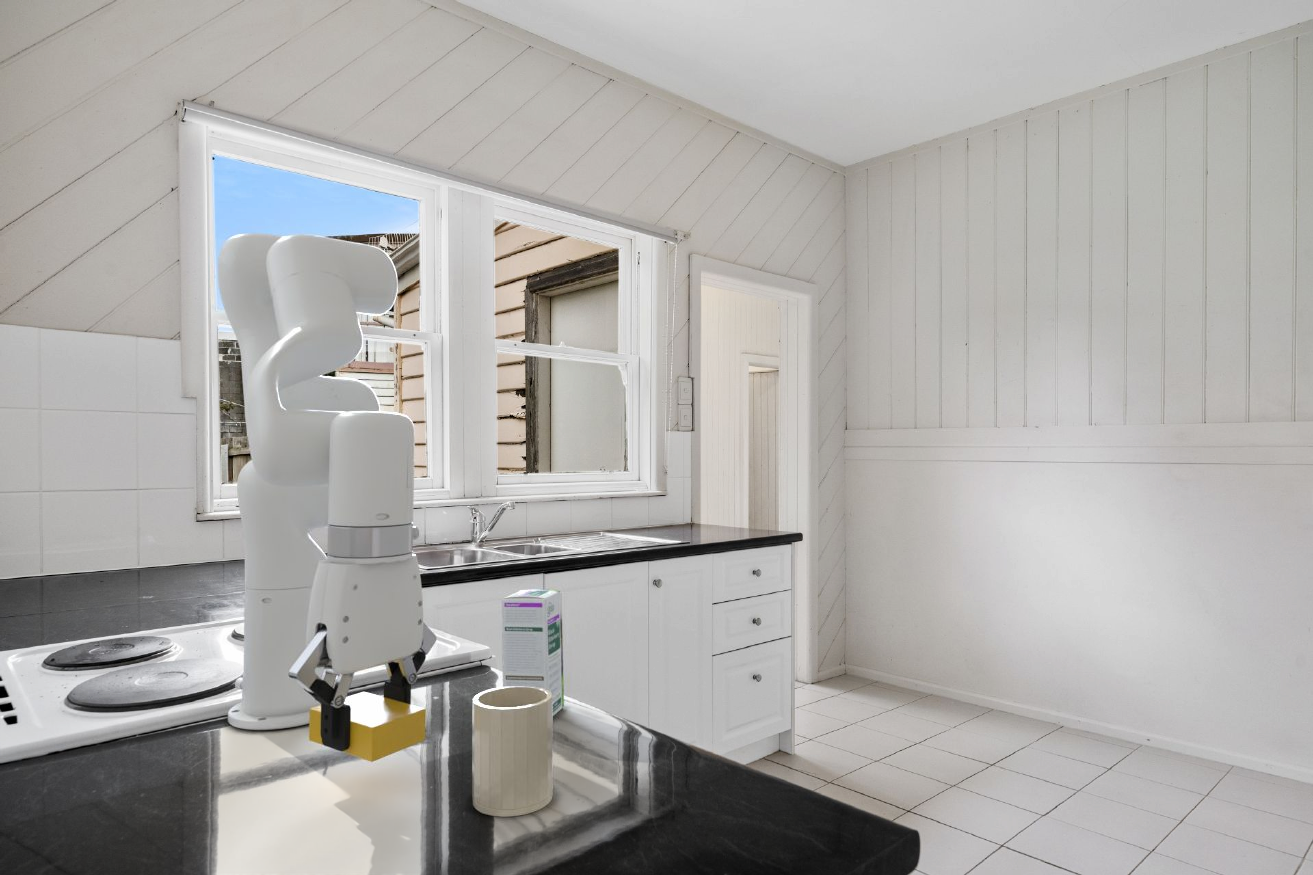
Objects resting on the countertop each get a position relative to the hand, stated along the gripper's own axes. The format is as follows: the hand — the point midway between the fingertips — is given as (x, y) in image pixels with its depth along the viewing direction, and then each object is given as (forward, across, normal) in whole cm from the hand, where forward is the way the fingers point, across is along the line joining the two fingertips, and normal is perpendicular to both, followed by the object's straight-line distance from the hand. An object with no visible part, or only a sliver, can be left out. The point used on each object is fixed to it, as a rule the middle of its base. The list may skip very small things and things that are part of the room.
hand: (367, 733), depth 71 cm
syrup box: (+5, -24, 0) cm, 24 cm away
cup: (+4, -5, +14) cm, 15 cm away
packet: (+1, 0, 0) cm, 1 cm away
